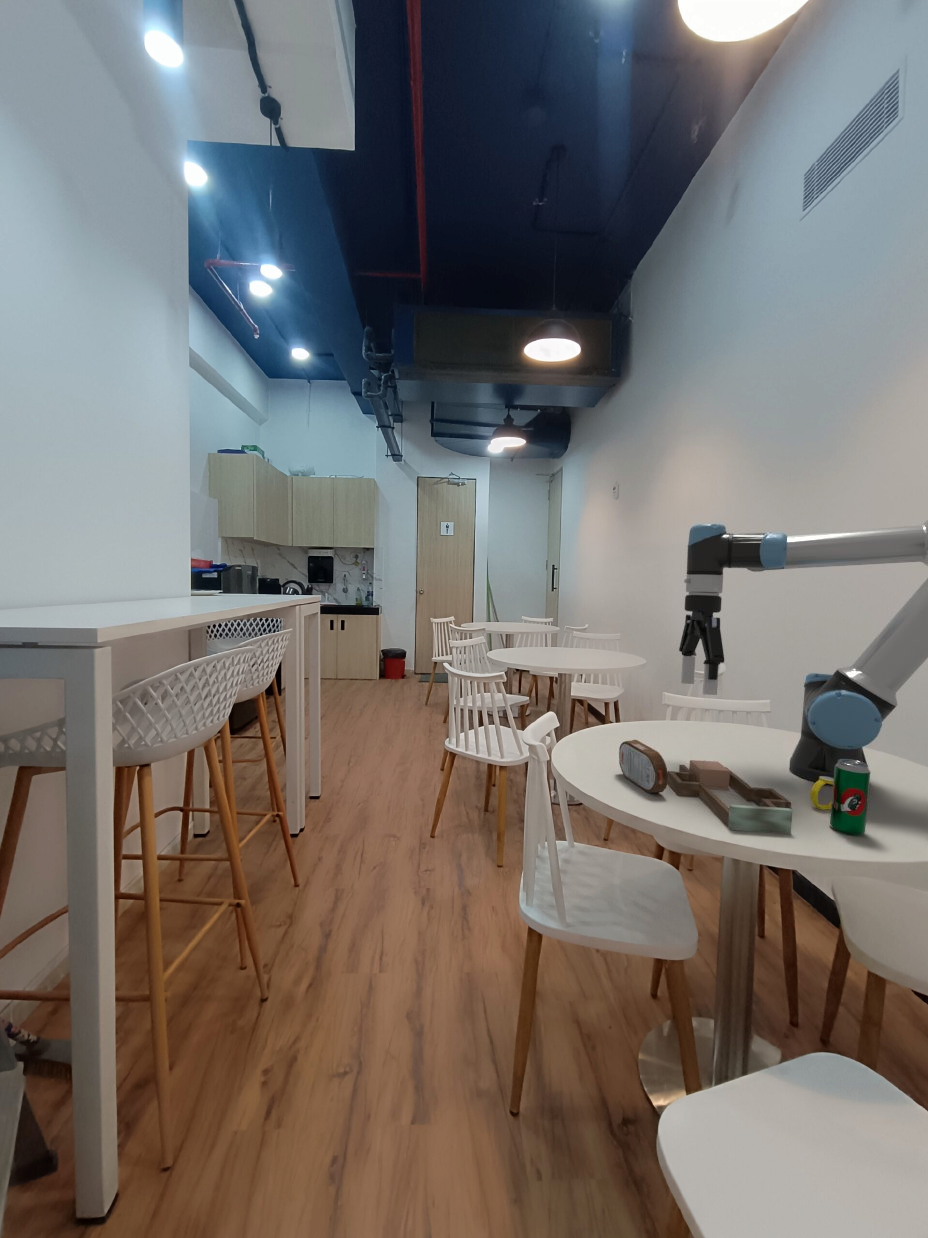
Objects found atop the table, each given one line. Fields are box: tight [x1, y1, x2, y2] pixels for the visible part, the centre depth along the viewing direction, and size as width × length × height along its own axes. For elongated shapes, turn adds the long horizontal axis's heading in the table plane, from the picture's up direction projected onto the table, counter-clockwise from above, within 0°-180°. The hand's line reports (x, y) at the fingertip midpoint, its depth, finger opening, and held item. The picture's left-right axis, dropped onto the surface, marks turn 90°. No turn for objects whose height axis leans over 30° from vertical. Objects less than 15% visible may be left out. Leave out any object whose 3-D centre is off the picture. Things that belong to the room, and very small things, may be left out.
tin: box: [618, 739, 668, 794], centre depth 115 cm, size 15×3×8 cm, turn 13°
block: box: [688, 759, 730, 790], centre depth 118 cm, size 6×6×4 cm
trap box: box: [667, 764, 794, 835], centre depth 108 cm, size 18×27×4 cm, turn 177°
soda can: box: [829, 759, 871, 837], centre depth 96 cm, size 5×5×12 cm
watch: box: [809, 776, 834, 811], centre depth 106 cm, size 6×3×6 cm, turn 104°
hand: (698, 688), depth 126 cm, fingers open, 13 cm apart
